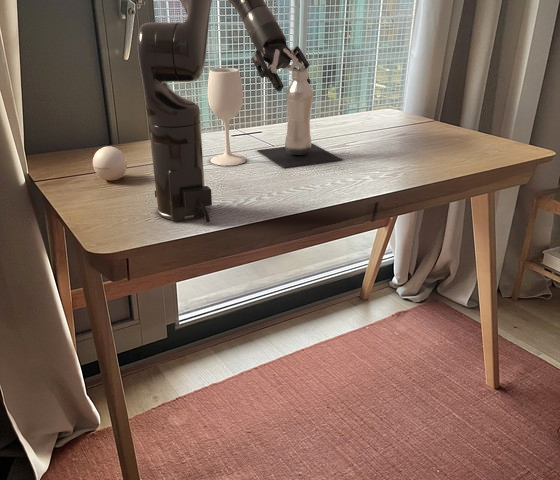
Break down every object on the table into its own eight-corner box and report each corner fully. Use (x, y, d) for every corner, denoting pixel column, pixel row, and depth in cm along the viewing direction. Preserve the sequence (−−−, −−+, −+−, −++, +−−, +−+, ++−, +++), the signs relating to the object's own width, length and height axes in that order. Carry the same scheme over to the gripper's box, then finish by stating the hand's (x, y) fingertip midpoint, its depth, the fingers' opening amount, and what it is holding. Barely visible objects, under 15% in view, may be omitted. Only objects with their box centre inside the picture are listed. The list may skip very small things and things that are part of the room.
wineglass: (240, 167, 136) (237, 73, 125) (205, 164, 137) (200, 72, 127) (249, 157, 143) (247, 67, 132) (216, 154, 145) (211, 66, 134)
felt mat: (342, 160, 141) (342, 159, 141) (283, 168, 135) (283, 167, 135) (311, 144, 154) (311, 143, 153) (257, 151, 148) (257, 150, 148)
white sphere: (122, 172, 132) (118, 140, 128) (133, 181, 126) (129, 148, 123) (79, 179, 127) (73, 147, 123) (89, 189, 122) (83, 155, 118)
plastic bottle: (285, 150, 147) (286, 68, 137) (312, 151, 147) (314, 68, 137) (283, 157, 142) (284, 72, 132) (310, 158, 141) (313, 72, 131)
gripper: (247, 21, 133) (279, 80, 131) (293, 19, 140) (323, 74, 139) (235, 44, 139) (264, 100, 137) (279, 40, 147) (308, 93, 145)
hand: (294, 87), depth 138 cm, fingers open, 8 cm apart
